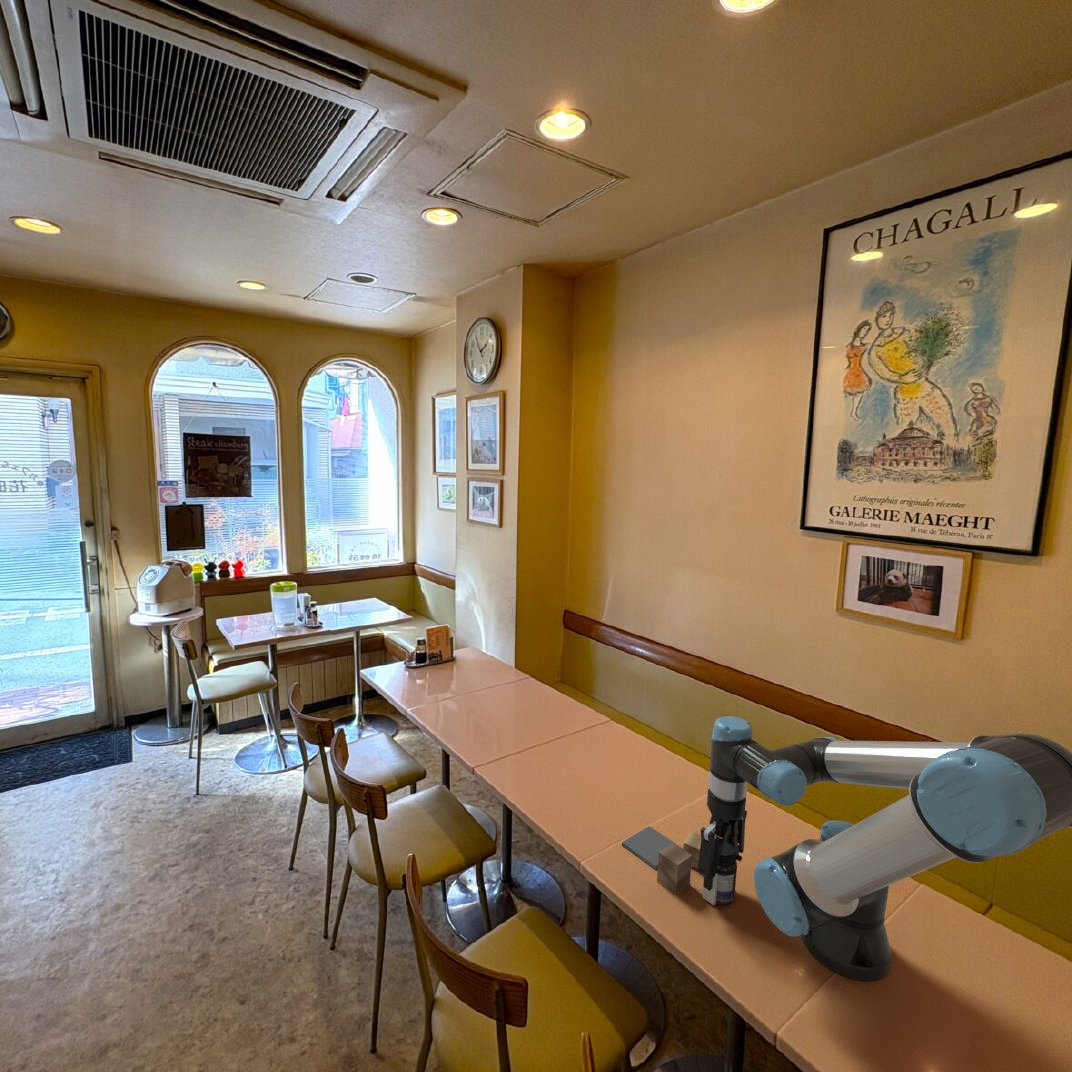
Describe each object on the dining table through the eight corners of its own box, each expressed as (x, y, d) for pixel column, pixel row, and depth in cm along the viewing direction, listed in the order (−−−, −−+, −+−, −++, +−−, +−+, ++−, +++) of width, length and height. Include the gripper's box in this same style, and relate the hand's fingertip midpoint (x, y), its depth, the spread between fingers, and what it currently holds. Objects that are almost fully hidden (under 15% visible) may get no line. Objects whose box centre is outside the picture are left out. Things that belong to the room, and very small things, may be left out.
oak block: (711, 859, 131) (712, 840, 130) (703, 872, 127) (705, 851, 126) (690, 850, 134) (691, 831, 133) (682, 862, 130) (683, 842, 129)
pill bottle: (710, 879, 124) (714, 833, 123) (738, 893, 120) (742, 846, 119) (699, 896, 120) (703, 848, 118) (727, 911, 116) (732, 861, 114)
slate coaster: (682, 851, 133) (682, 848, 133) (655, 869, 127) (655, 866, 127) (649, 828, 141) (649, 825, 141) (621, 845, 135) (621, 842, 134)
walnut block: (689, 884, 123) (692, 855, 122) (675, 895, 120) (677, 865, 119) (671, 871, 127) (673, 842, 126) (656, 881, 123) (658, 852, 122)
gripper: (736, 769, 126) (727, 863, 129) (683, 799, 114) (676, 903, 117) (768, 784, 120) (758, 883, 123) (716, 818, 108) (707, 927, 111)
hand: (718, 892), depth 120 cm, fingers closed on pill bottle, 6 cm apart
